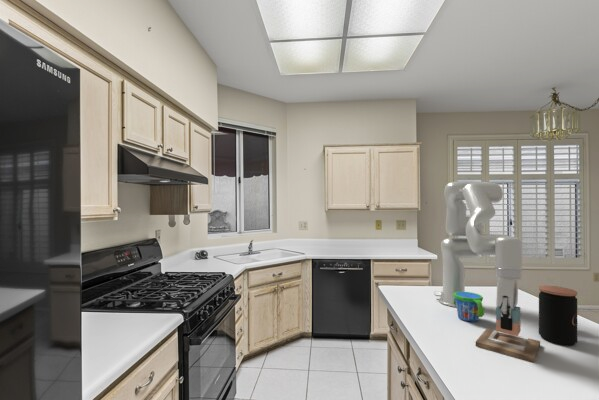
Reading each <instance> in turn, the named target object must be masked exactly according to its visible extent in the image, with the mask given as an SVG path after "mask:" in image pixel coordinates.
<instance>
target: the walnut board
mask: <svg viewBox="0 0 599 400" xmlns="http://www.w3.org/2000/svg"><path fill="white" fill-rule="evenodd" d="M475 347H478V348H481V349H485V350H488V351H492V352H495V353H498V354H502V355H506V356H509V357H513V358H516V359H519V360H523V361H527V362H530V363H535V362H536V359H537V356H538V353H539V350H540V348H541V340H538V339H533V338H529V337H525V336H520V335H518V336H515V335H510V334H506V333H502V332H498V331H496V329H492V328H488V327H487V328H485V330H484V331H483V332H482V333H481V335H480V336H479V337H478V338H477V339H476V341H475Z"/></svg>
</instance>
